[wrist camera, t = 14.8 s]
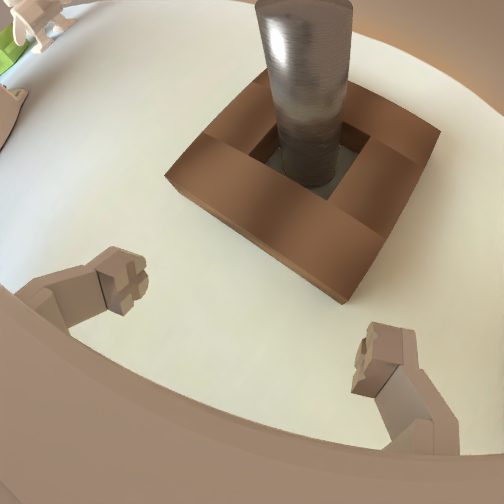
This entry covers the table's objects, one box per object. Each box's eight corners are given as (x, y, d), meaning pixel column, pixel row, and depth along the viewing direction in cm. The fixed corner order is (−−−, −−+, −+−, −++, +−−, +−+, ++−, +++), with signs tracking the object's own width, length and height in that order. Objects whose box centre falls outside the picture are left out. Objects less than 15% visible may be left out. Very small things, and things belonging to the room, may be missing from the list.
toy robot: (72, 16, 39) (33, -39, 20) (88, 13, 36) (46, -49, 17) (26, 59, 37) (-21, 7, 18) (37, 61, 35) (-17, 1, 15)
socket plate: (178, 192, 20) (164, 175, 18) (284, 76, 21) (281, 55, 19) (341, 304, 16) (348, 300, 14) (429, 150, 18) (441, 131, 15)
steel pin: (273, 171, 19) (235, 13, 8) (301, 136, 20) (288, -18, 8) (318, 197, 18) (324, 35, 7) (345, 159, 19) (367, 1, 7)
